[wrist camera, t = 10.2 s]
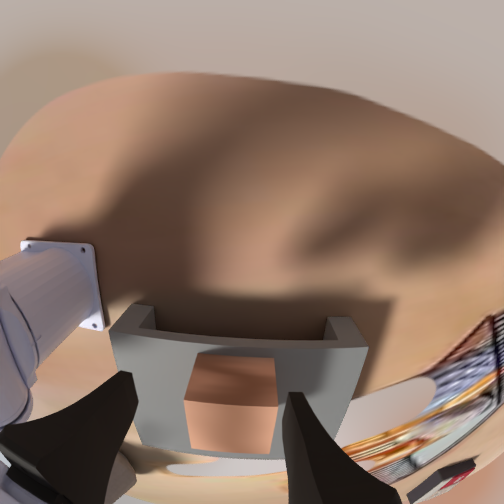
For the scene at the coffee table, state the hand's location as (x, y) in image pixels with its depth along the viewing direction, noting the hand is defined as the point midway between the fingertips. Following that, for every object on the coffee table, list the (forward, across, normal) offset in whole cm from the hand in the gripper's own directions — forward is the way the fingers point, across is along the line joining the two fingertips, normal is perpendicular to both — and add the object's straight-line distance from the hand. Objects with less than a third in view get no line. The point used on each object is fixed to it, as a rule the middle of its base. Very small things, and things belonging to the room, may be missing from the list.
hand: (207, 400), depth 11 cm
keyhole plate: (+10, -1, +8) cm, 13 cm away
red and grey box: (+12, -48, +45) cm, 67 cm away
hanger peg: (+9, -1, +4) cm, 10 cm away
